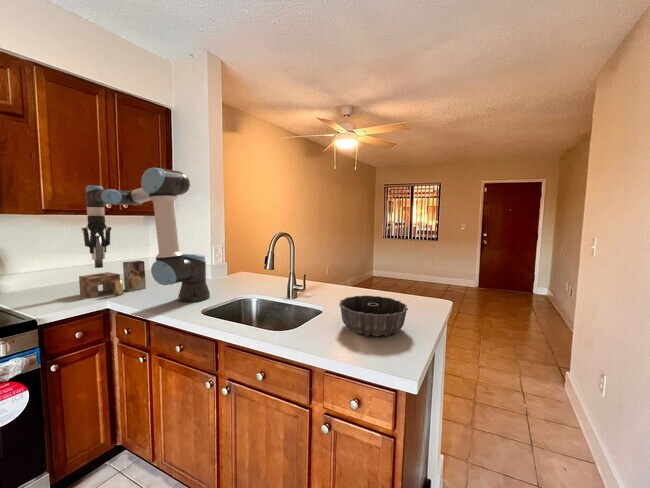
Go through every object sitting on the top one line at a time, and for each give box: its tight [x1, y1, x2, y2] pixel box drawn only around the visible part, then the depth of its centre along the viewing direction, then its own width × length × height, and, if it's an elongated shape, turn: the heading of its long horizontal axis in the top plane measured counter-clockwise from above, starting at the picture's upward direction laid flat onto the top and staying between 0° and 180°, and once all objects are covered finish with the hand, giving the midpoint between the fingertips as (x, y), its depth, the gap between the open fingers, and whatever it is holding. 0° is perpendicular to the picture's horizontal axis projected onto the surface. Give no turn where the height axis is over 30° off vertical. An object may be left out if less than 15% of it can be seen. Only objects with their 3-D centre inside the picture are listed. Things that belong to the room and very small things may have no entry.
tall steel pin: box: [93, 235, 104, 269], centre depth 167 cm, size 4×4×17 cm
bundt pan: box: [338, 295, 409, 337], centre depth 122 cm, size 26×26×10 cm
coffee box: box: [122, 260, 147, 292], centre depth 178 cm, size 9×6×16 cm
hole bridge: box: [78, 271, 121, 299], centre depth 168 cm, size 12×14×10 cm
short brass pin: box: [114, 279, 124, 297], centre depth 165 cm, size 4×4×8 cm
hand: (98, 259), depth 167 cm, fingers closed on tall steel pin, 3 cm apart
